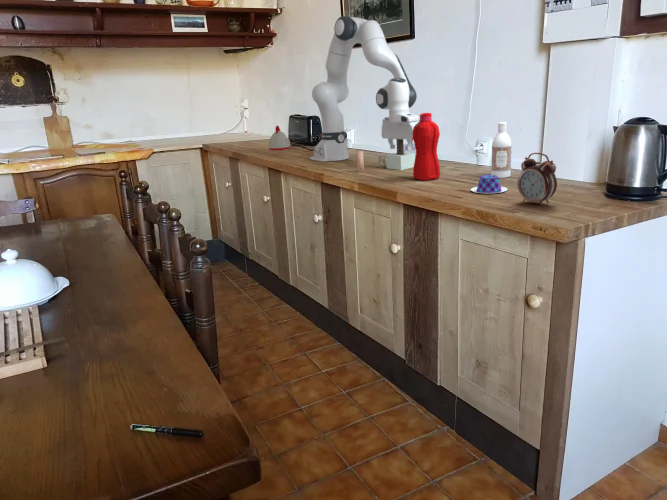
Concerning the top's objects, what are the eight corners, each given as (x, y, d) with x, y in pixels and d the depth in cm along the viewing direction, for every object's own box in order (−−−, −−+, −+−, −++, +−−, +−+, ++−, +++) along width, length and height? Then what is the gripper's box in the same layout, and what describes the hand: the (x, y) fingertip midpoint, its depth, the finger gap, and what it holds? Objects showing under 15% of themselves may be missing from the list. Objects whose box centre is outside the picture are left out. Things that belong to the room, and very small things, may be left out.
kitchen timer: (266, 151, 327) (263, 127, 322) (272, 148, 340) (269, 125, 335) (287, 150, 324) (285, 126, 320) (292, 147, 337) (290, 124, 333)
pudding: (494, 197, 166) (495, 180, 164) (463, 193, 174) (463, 177, 173) (514, 190, 173) (515, 174, 171) (483, 186, 182) (483, 171, 180)
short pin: (377, 167, 236) (376, 156, 234) (382, 166, 237) (381, 155, 236) (382, 168, 233) (381, 157, 232) (386, 167, 235) (386, 156, 233)
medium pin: (356, 172, 228) (354, 151, 225) (361, 171, 230) (359, 150, 227) (360, 172, 226) (359, 152, 223) (365, 171, 227) (364, 151, 225)
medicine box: (415, 161, 244) (415, 143, 241) (416, 163, 240) (415, 144, 237) (398, 162, 245) (398, 144, 242) (398, 164, 240) (398, 145, 238)
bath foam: (491, 178, 193) (492, 123, 187) (491, 174, 199) (492, 122, 193) (510, 178, 191) (512, 122, 185) (510, 174, 197) (512, 121, 191)
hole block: (386, 168, 232) (386, 154, 230) (400, 165, 237) (400, 152, 235) (401, 169, 225) (400, 156, 223) (415, 166, 230) (414, 153, 228)
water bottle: (406, 179, 204) (404, 114, 196) (430, 175, 207) (429, 111, 200) (419, 182, 195) (417, 114, 188) (443, 178, 199) (443, 112, 192)
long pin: (396, 167, 231) (394, 136, 227) (400, 166, 233) (399, 135, 229) (400, 168, 229) (399, 136, 225) (405, 167, 231) (404, 135, 226)
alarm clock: (515, 202, 156) (517, 152, 151) (525, 199, 158) (527, 150, 153) (547, 208, 147) (550, 155, 142) (557, 205, 149) (560, 152, 145)
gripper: (377, 117, 230) (378, 149, 234) (411, 118, 215) (412, 151, 219) (387, 116, 234) (388, 147, 238) (421, 116, 218) (422, 149, 223)
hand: (400, 149), depth 228 cm, fingers open, 8 cm apart
